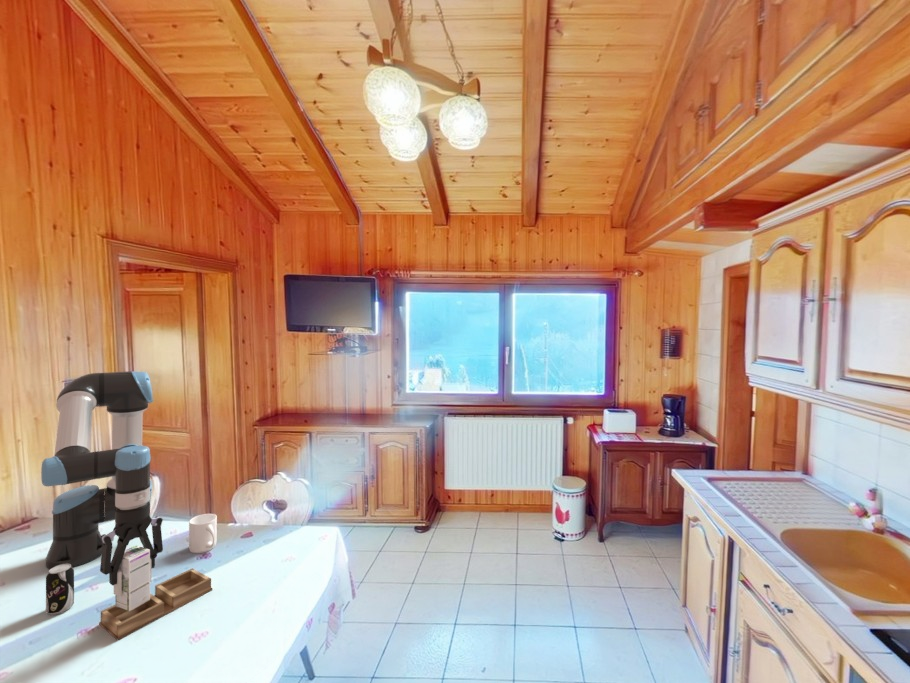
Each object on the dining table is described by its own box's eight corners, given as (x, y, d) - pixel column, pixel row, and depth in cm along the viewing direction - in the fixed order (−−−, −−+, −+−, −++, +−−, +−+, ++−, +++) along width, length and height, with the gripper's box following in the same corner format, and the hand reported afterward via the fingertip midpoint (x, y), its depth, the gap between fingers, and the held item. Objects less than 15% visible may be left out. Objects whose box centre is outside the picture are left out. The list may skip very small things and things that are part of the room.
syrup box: (151, 599, 114) (151, 548, 113) (128, 613, 108) (128, 558, 108) (137, 594, 116) (137, 544, 115) (113, 607, 110) (114, 554, 110)
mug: (200, 559, 142) (200, 529, 141) (184, 549, 148) (184, 520, 148) (225, 549, 149) (226, 520, 148) (209, 539, 155) (209, 511, 155)
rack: (99, 624, 110) (99, 611, 110) (192, 578, 131) (192, 567, 131) (117, 640, 105) (117, 626, 104) (212, 589, 125) (212, 578, 125)
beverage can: (41, 618, 112) (41, 575, 111) (52, 605, 117) (52, 564, 117) (68, 613, 114) (68, 571, 114) (77, 600, 119) (77, 560, 119)
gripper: (94, 521, 101) (94, 613, 102) (178, 495, 118) (178, 574, 118) (81, 514, 105) (82, 602, 105) (165, 489, 122) (164, 566, 122)
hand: (132, 587), depth 112 cm, fingers closed on syrup box, 6 cm apart
